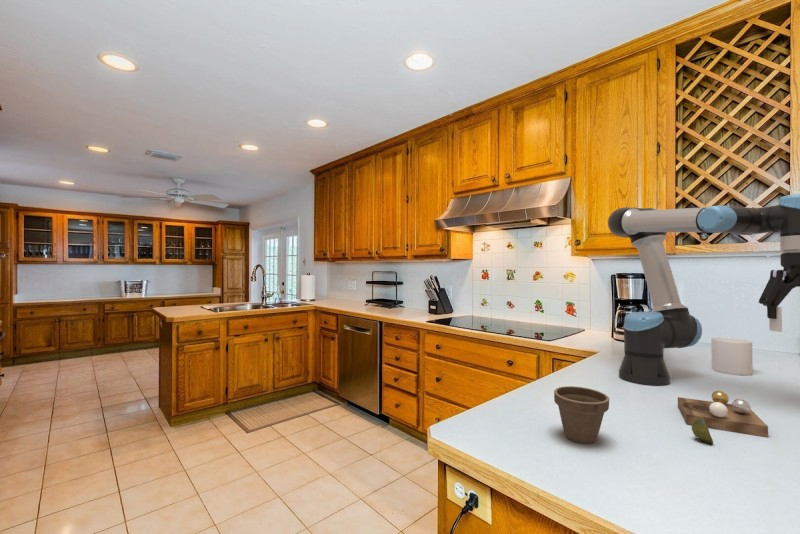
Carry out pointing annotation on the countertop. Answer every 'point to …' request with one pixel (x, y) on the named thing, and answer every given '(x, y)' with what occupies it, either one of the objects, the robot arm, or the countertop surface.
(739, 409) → the steel ball
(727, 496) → the countertop surface
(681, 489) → the countertop surface
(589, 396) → the flower pot
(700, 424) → the lime
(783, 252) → the robot arm
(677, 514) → the countertop surface
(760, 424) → the board
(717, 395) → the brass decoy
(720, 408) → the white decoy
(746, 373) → the cup
